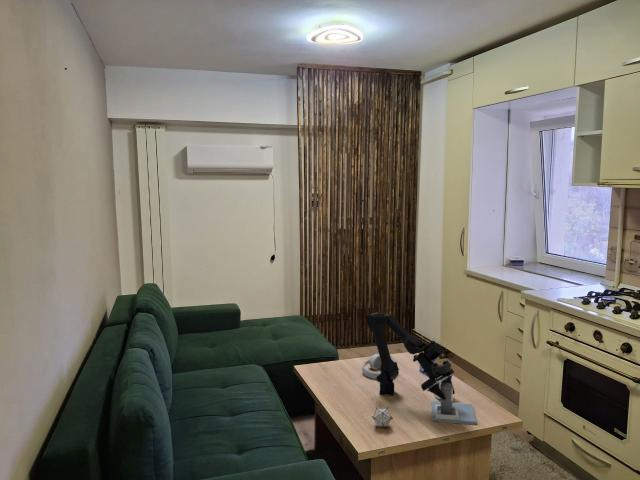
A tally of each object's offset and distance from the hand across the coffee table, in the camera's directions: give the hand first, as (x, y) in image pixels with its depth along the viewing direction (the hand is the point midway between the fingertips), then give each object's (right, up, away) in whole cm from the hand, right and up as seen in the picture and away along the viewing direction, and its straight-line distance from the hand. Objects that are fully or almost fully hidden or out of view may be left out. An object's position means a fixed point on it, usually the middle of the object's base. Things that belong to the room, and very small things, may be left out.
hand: (449, 396), depth 203 cm
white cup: (+2, -7, +21) cm, 22 cm away
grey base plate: (+3, -9, +5) cm, 10 cm away
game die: (-30, -11, -5) cm, 32 cm away
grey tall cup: (-1, -8, +2) cm, 8 cm away
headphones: (-24, -4, +50) cm, 55 cm away
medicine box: (+1, -4, +47) cm, 48 cm away
